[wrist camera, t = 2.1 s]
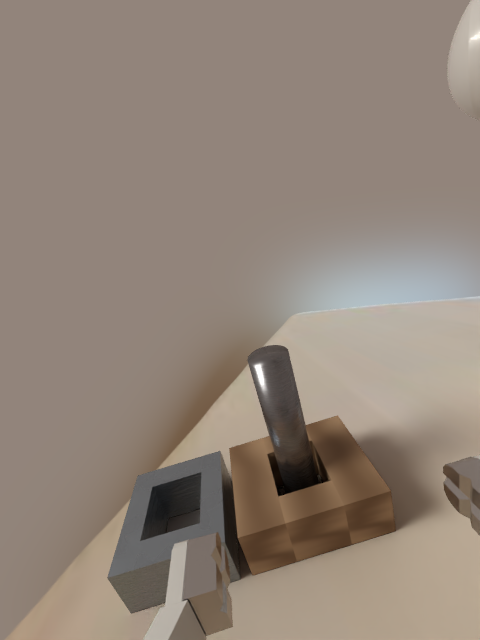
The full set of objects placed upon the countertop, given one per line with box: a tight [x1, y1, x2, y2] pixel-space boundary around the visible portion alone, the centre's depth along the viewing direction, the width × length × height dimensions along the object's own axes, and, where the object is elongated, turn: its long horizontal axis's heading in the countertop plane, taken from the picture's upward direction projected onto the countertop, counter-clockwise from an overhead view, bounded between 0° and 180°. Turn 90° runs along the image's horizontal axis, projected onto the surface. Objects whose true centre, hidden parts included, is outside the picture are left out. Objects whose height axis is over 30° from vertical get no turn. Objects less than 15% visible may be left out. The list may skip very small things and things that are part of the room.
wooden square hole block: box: [229, 416, 396, 575], centre depth 25 cm, size 12×9×4 cm
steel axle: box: [248, 345, 319, 494], centre depth 24 cm, size 3×3×16 cm
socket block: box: [108, 451, 240, 613], centre depth 25 cm, size 9×9×4 cm
